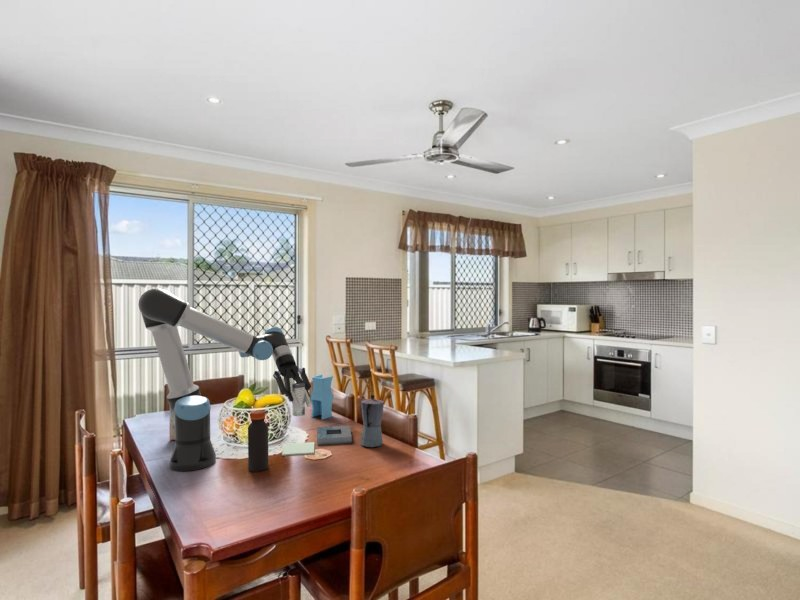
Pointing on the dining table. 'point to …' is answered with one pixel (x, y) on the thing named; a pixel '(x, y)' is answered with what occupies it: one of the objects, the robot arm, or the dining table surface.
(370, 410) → the moka pot
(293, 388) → the silver canister
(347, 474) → the dining table surface
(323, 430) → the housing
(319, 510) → the dining table surface
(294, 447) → the mat
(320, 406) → the blue notched block
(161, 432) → the dining table surface
